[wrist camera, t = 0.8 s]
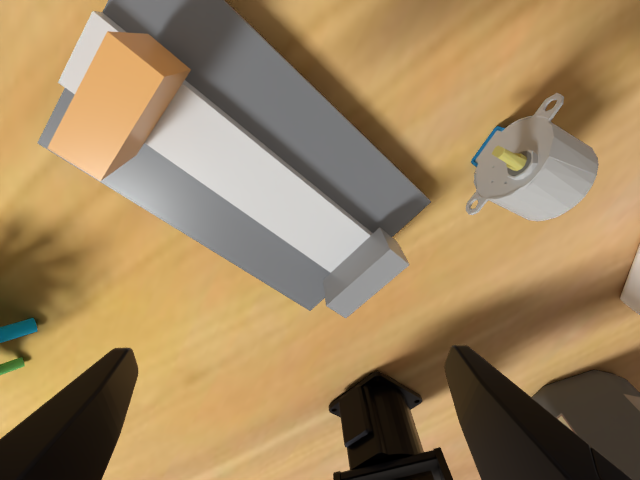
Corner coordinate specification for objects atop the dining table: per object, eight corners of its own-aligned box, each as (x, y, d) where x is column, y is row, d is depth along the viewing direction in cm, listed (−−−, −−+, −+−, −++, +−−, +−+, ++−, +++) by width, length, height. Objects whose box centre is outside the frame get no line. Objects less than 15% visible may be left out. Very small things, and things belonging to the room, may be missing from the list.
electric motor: (502, 71, 18) (570, 81, 13) (564, 113, 19) (644, 133, 15) (426, 183, 21) (462, 221, 16) (485, 212, 22) (532, 254, 18)
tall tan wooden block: (191, 69, 15) (164, 76, 12) (136, 154, 16) (100, 180, 13) (148, 33, 14) (107, 31, 11) (95, 127, 16) (47, 148, 12)
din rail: (424, 194, 21) (453, 227, 17) (309, 299, 25) (312, 346, 21) (156, -67, 14) (105, -108, 10) (52, 137, 17) (-14, 163, 14)
